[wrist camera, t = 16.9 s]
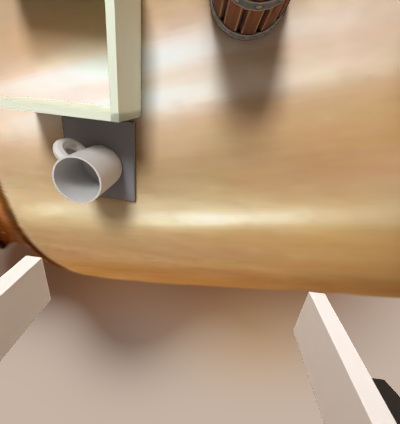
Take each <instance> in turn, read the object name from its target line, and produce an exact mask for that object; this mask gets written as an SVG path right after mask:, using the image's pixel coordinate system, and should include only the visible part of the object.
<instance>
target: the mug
mask: <svg viewBox="0 0 400 424" xmlns="http://www.w3.org/2000/svg"><path fill="white" fill-rule="evenodd" d="M209 1H210V7H211V10H212V13H213V17H214V18H215V20H216V22H217V24H218V25H219V27H220V28H221V29H222V30H223V31H224V32H225V33H226V34H227V35H229V36H231V37H233V38H236V39H239V40H252V39H256V38H258V37H260V36H262V35H265V34H266V33H268V32H269V31H270V30H271V29H272V28H273V27H275V25H276V24H277V23H278V21H279V20H280V19H281V17H282V16H283V14H284V12H285V10H286V8H287V6H288V4H289V2H290V0H209Z"/></svg>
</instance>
